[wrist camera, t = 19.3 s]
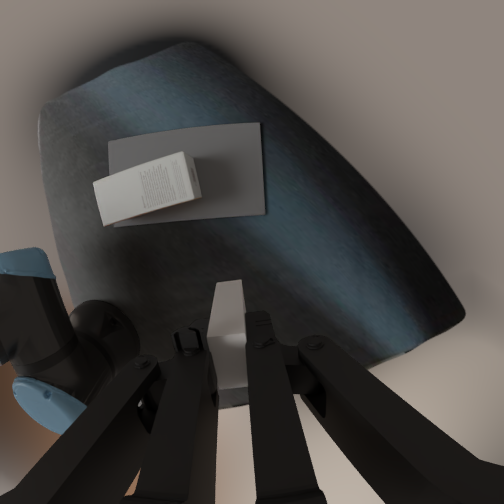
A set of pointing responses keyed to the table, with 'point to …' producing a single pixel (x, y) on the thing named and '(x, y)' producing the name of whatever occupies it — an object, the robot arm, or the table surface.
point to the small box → (147, 188)
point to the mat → (202, 169)
